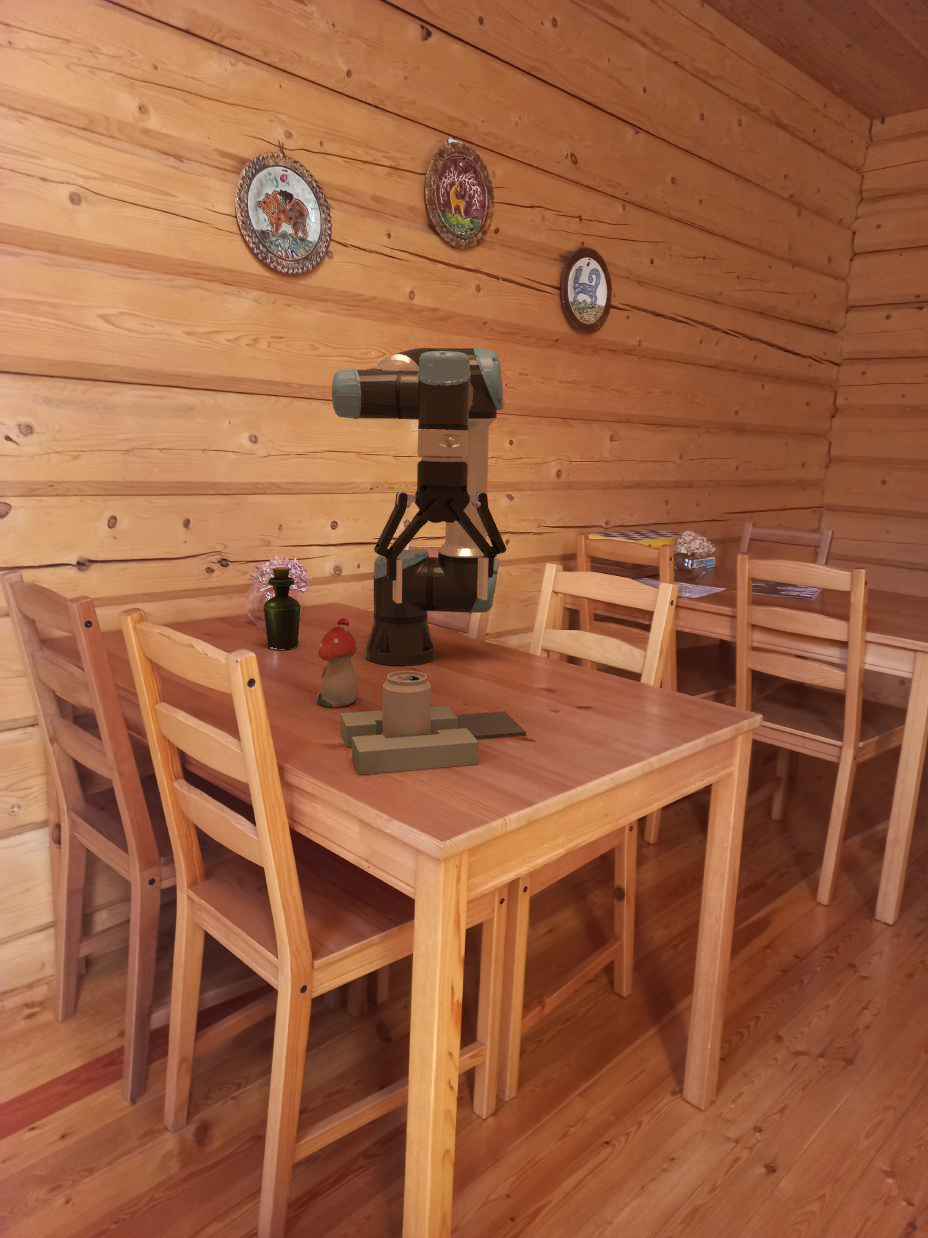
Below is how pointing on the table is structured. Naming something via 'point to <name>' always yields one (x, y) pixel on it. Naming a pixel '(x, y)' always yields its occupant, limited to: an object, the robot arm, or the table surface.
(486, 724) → the coaster
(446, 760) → the pocket block
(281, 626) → the potion bottle
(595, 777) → the table surface
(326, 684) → the decorative ornament
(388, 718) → the can
